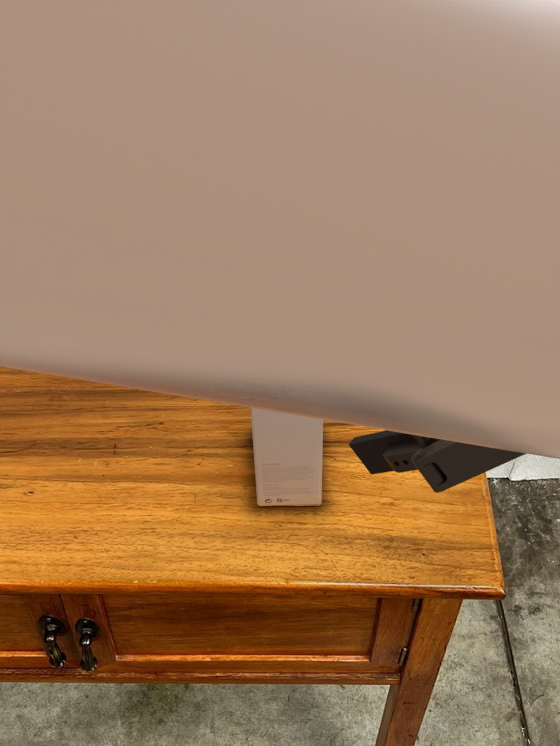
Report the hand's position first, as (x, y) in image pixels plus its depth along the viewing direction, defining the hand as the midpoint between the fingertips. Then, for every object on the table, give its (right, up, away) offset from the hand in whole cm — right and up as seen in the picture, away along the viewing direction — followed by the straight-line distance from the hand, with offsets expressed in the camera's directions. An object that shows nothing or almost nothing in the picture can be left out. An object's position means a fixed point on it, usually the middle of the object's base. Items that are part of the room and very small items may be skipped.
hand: (407, 394), depth 56 cm
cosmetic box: (-9, -7, +15) cm, 19 cm away
